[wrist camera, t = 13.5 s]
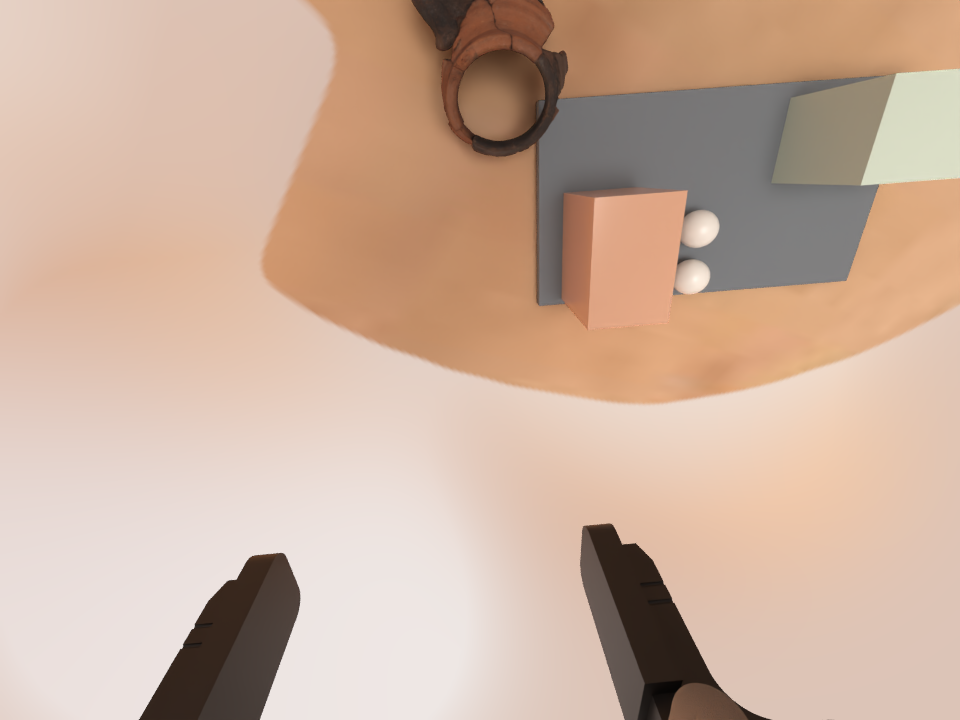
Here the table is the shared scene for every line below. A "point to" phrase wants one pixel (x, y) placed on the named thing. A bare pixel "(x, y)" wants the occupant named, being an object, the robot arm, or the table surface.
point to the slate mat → (702, 181)
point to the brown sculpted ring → (488, 27)
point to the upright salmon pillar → (621, 255)
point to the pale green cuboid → (874, 132)
